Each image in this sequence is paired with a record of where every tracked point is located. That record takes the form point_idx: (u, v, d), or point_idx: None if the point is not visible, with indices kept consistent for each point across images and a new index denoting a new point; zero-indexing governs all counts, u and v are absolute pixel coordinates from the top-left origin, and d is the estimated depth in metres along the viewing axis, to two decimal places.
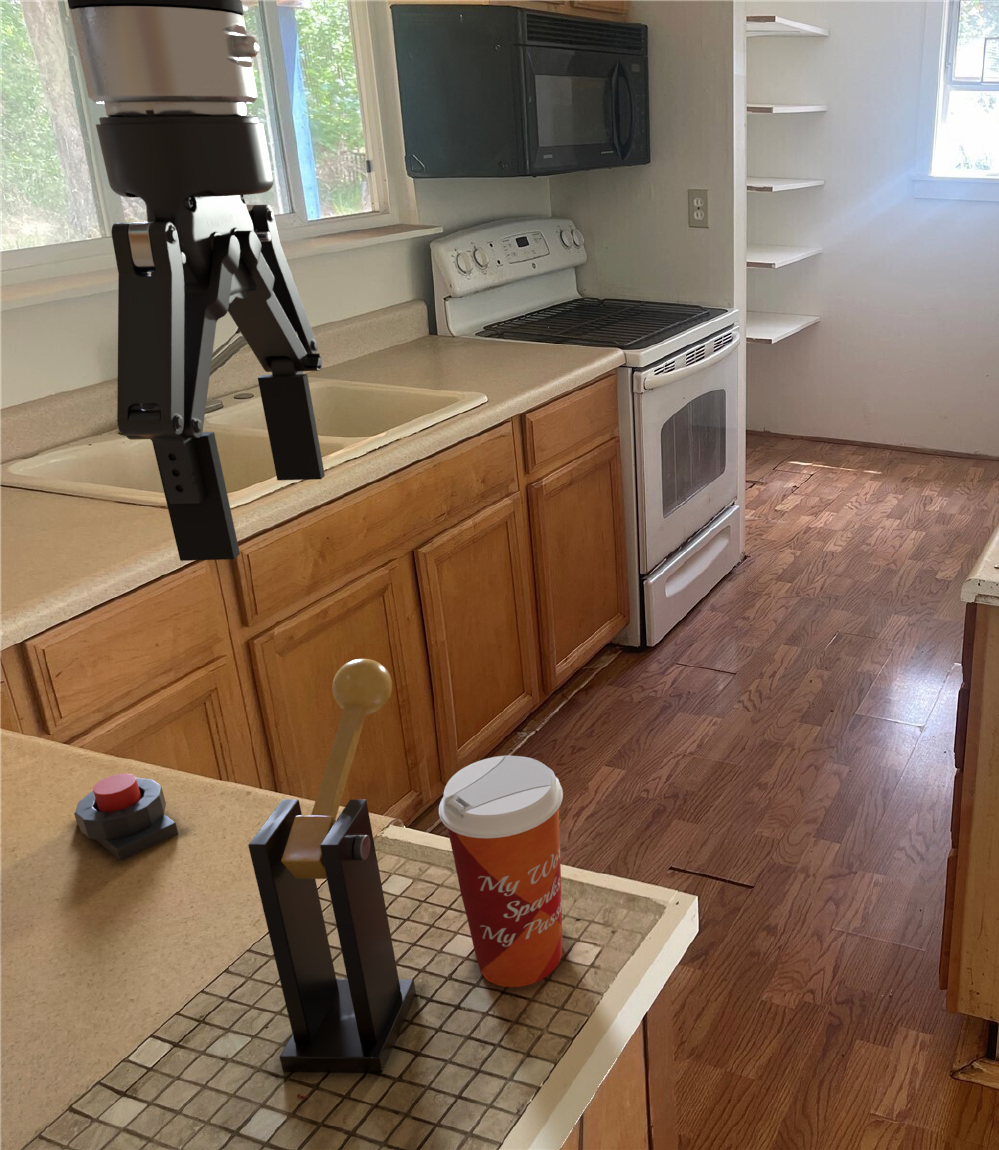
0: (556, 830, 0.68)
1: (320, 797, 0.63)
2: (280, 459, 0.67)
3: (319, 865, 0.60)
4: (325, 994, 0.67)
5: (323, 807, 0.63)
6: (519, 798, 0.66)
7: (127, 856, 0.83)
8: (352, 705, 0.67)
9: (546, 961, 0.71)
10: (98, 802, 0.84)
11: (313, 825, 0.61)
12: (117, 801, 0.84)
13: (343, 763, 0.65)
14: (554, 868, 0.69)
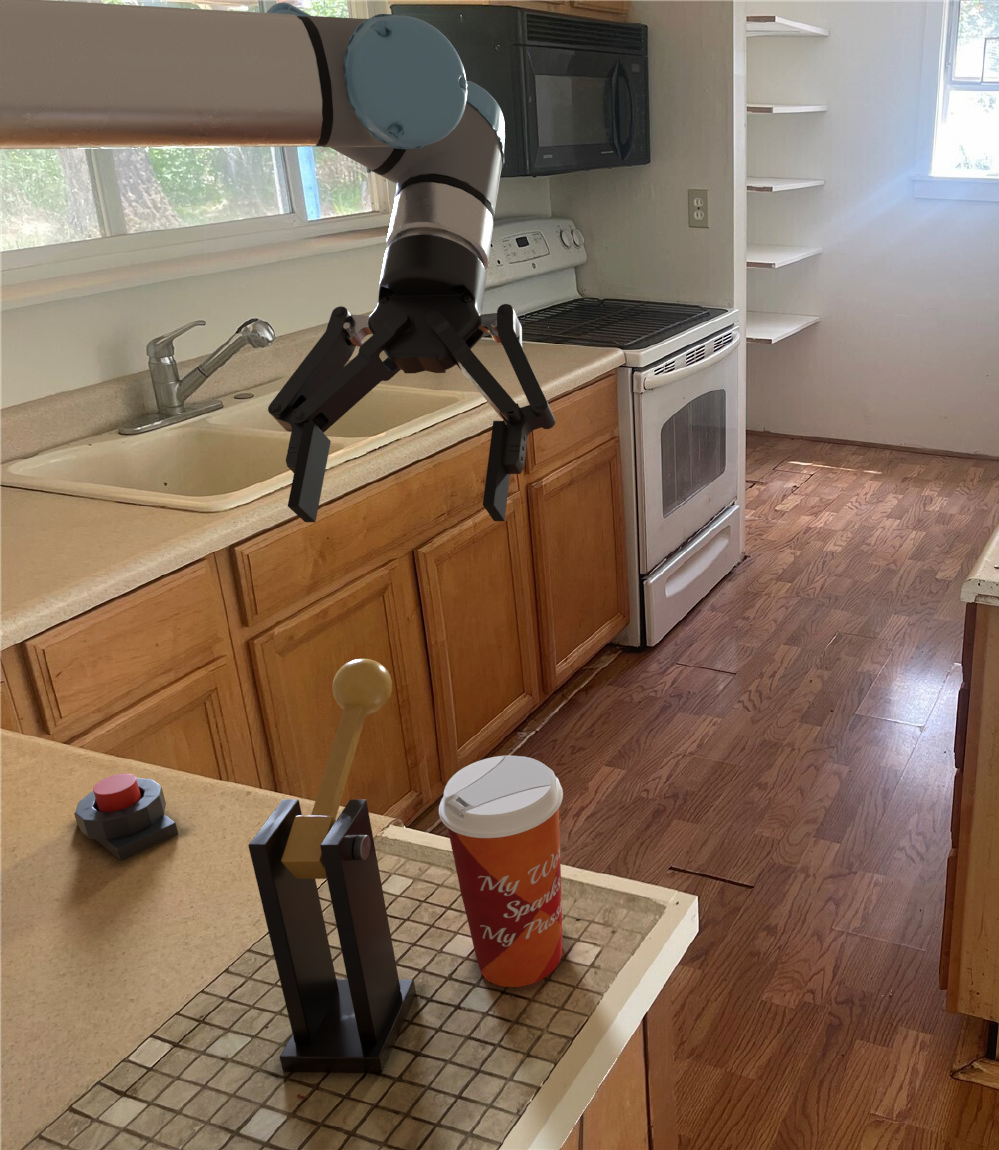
0: (556, 830, 0.68)
1: (320, 797, 0.63)
2: (304, 490, 0.75)
3: (319, 865, 0.60)
4: (325, 994, 0.67)
5: (323, 807, 0.63)
6: (519, 798, 0.66)
7: (127, 856, 0.83)
8: (352, 705, 0.67)
9: (546, 961, 0.71)
10: (98, 802, 0.84)
11: (313, 825, 0.61)
12: (117, 801, 0.84)
13: (343, 763, 0.65)
14: (554, 868, 0.69)
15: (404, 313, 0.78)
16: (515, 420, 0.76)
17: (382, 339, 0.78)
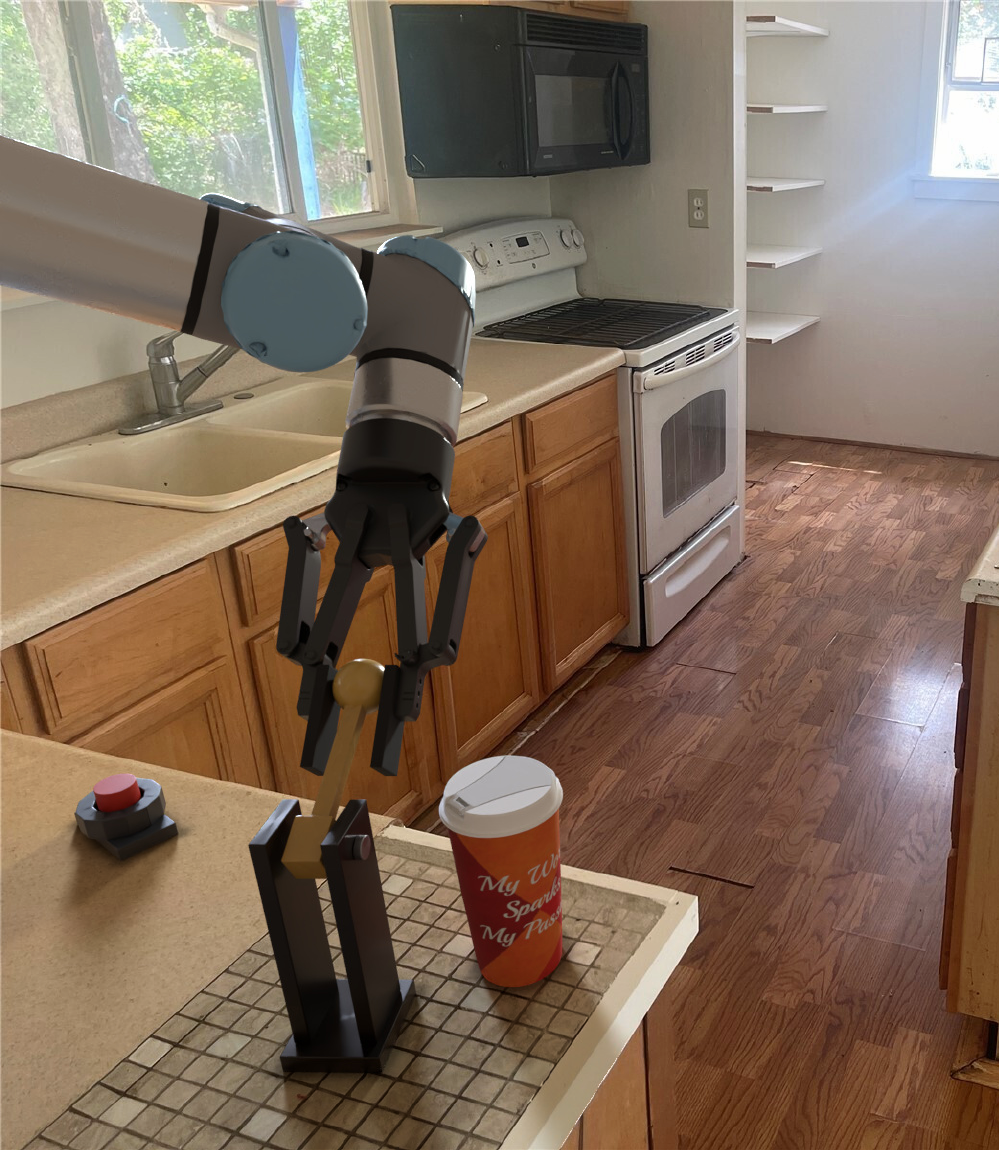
0: (556, 830, 0.68)
1: (320, 797, 0.63)
2: (318, 746, 0.66)
3: (319, 865, 0.60)
4: (325, 994, 0.67)
5: (323, 807, 0.63)
6: (519, 798, 0.66)
7: (127, 856, 0.83)
8: (352, 705, 0.67)
9: (546, 961, 0.71)
10: (98, 802, 0.84)
11: (313, 825, 0.61)
12: (117, 801, 0.84)
13: (343, 763, 0.65)
14: (554, 868, 0.69)
15: (364, 505, 0.71)
16: (405, 664, 0.68)
17: (353, 539, 0.71)
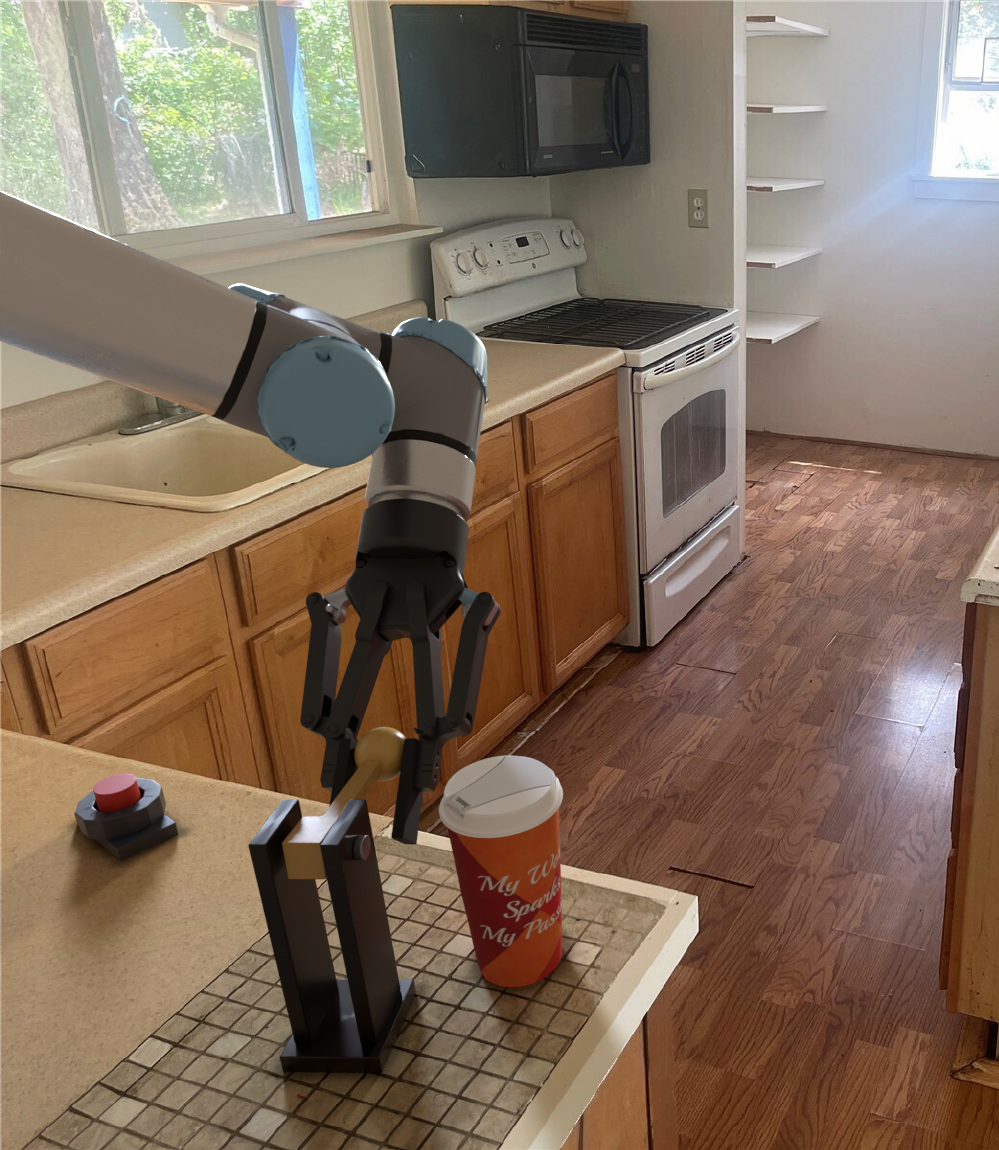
0: (556, 830, 0.68)
1: (328, 812, 0.64)
2: None
3: (318, 851, 0.60)
4: (325, 994, 0.67)
5: None
6: (519, 798, 0.66)
7: (127, 856, 0.83)
8: (371, 760, 0.70)
9: (546, 961, 0.71)
10: (98, 802, 0.84)
11: (319, 822, 0.62)
12: (117, 801, 0.84)
13: (356, 792, 0.66)
14: (554, 868, 0.69)
15: (383, 583, 0.75)
16: (424, 737, 0.72)
17: (373, 616, 0.74)
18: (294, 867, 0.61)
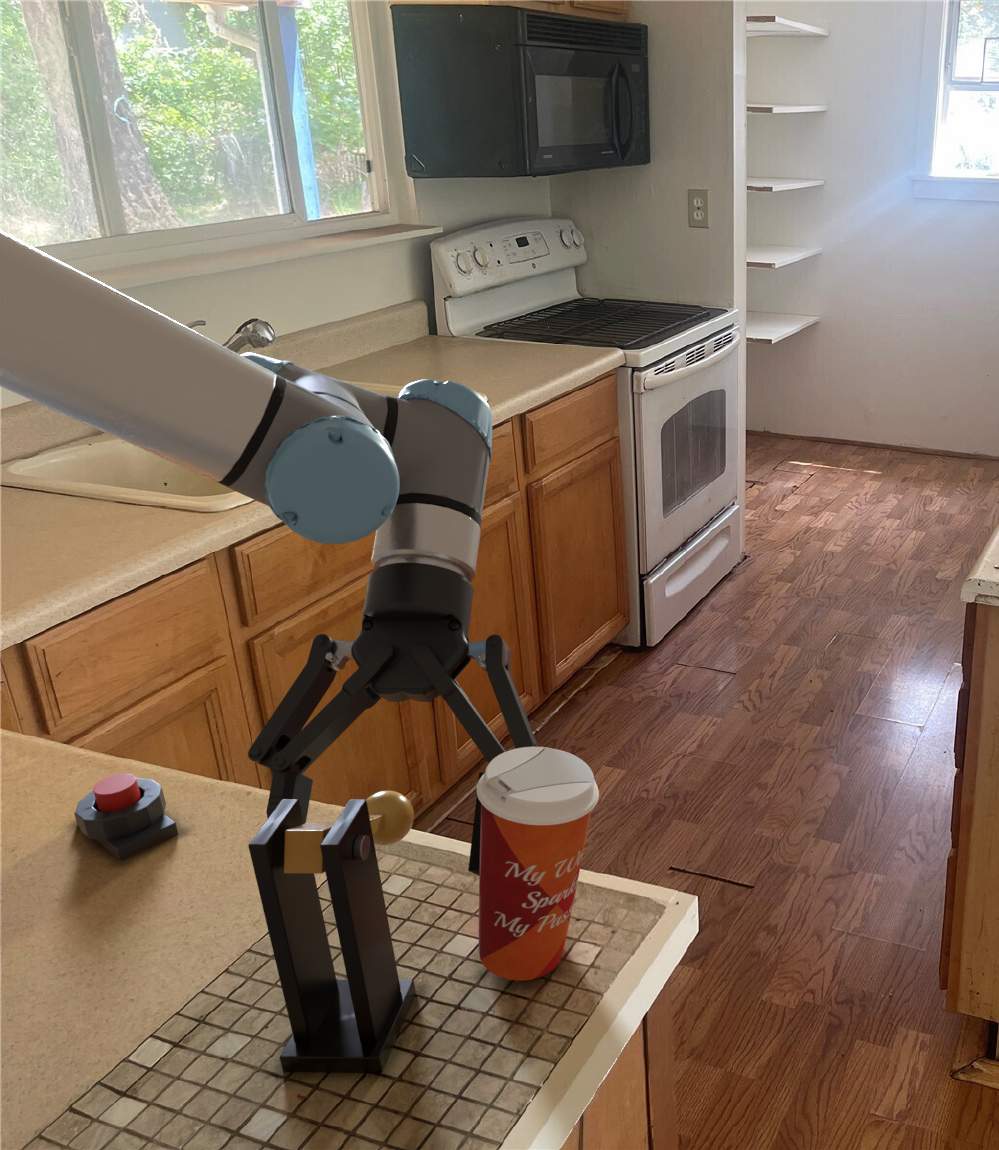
0: (587, 827, 0.69)
1: None
2: None
3: (320, 839, 0.60)
4: (325, 994, 0.67)
5: None
6: (561, 790, 0.67)
7: (127, 856, 0.83)
8: (375, 814, 0.71)
9: (550, 958, 0.71)
10: (98, 802, 0.84)
11: (323, 824, 0.63)
12: (117, 801, 0.84)
13: None
14: (577, 865, 0.69)
15: (389, 646, 0.76)
16: None
17: (367, 675, 0.76)
18: (292, 859, 0.60)
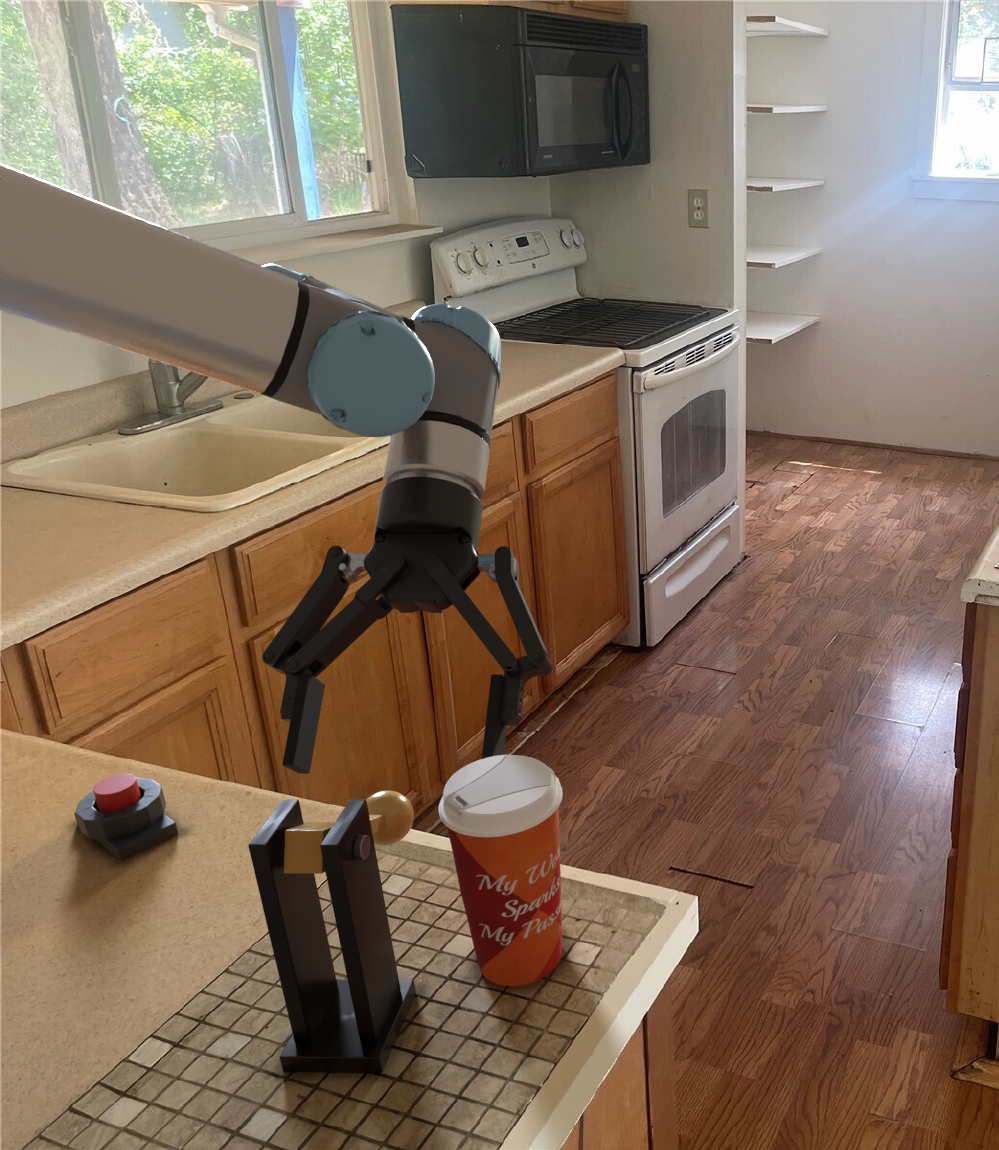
0: (555, 830, 0.68)
1: None
2: (299, 747, 0.74)
3: (320, 839, 0.60)
4: (325, 994, 0.67)
5: None
6: (518, 797, 0.66)
7: (127, 856, 0.83)
8: (375, 814, 0.71)
9: (545, 961, 0.71)
10: (98, 802, 0.84)
11: (323, 824, 0.63)
12: (117, 801, 0.84)
13: None
14: (553, 868, 0.69)
15: (401, 557, 0.78)
16: (513, 673, 0.76)
17: (379, 584, 0.78)
18: (292, 859, 0.60)
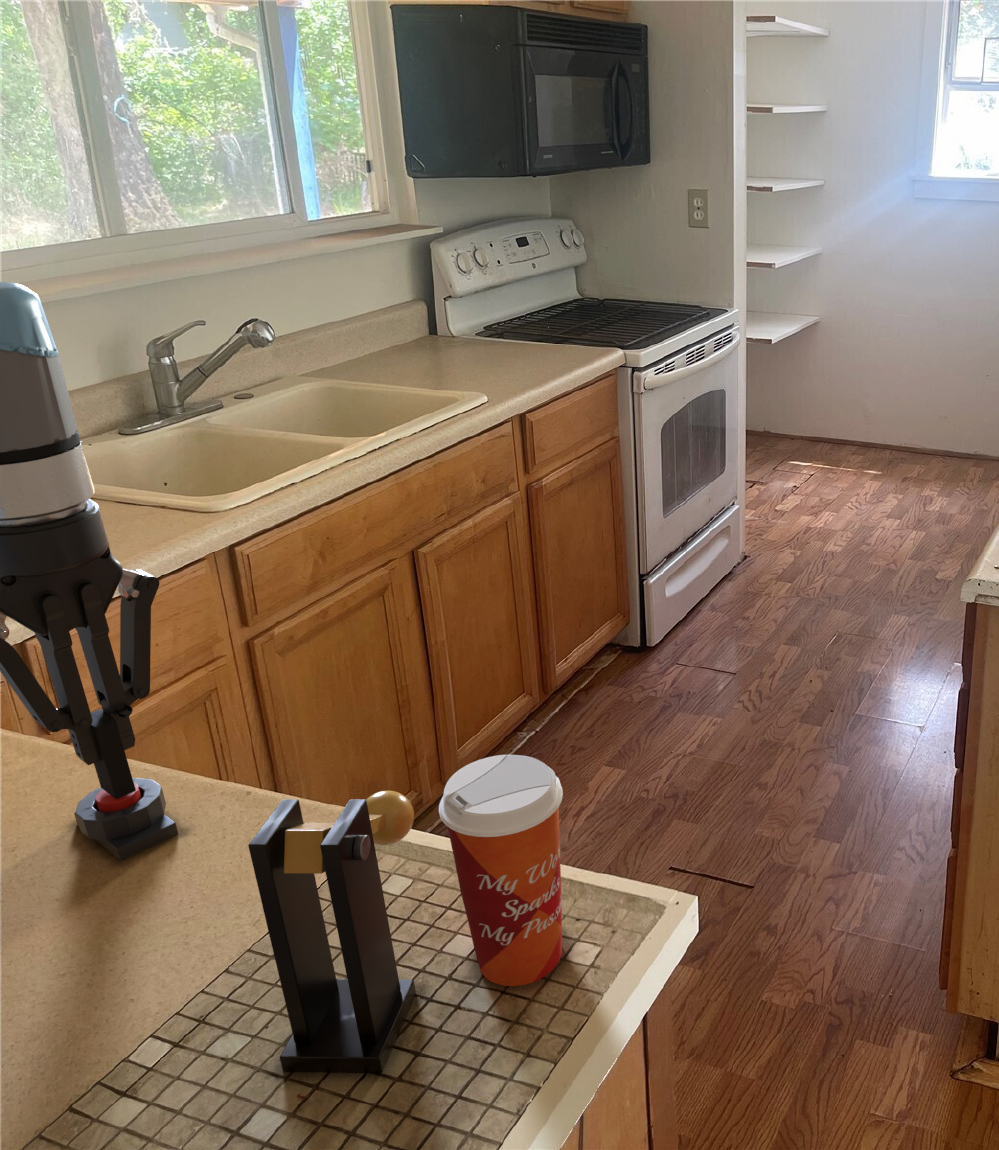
0: (555, 830, 0.68)
1: None
2: None
3: (320, 839, 0.60)
4: (325, 994, 0.67)
5: None
6: (518, 797, 0.66)
7: (127, 856, 0.83)
8: (375, 814, 0.71)
9: (545, 961, 0.71)
10: (101, 811, 0.85)
11: (323, 824, 0.63)
12: (120, 809, 0.85)
13: None
14: (553, 868, 0.69)
15: (56, 597, 0.77)
16: None
17: (62, 626, 0.78)
18: (292, 859, 0.60)
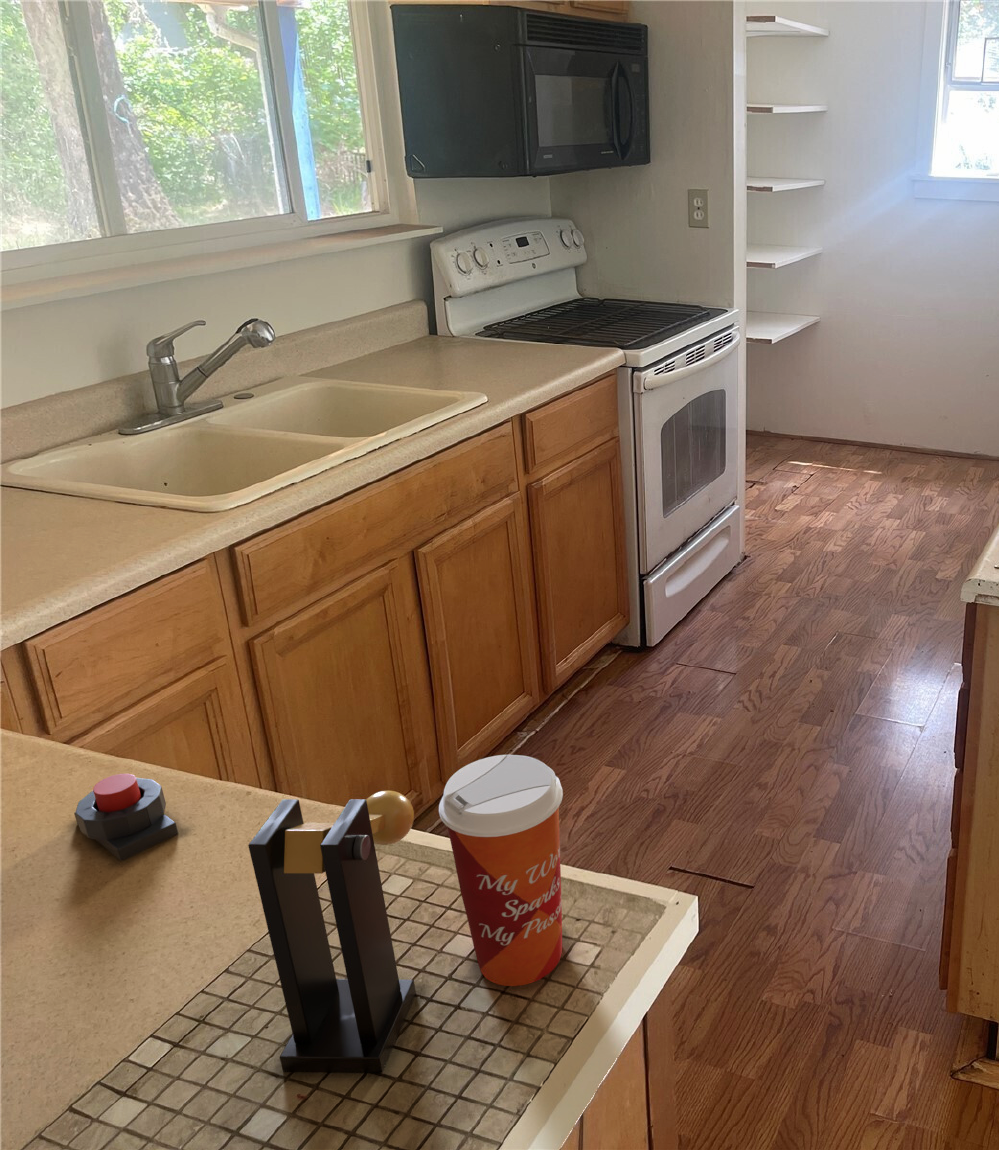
0: (555, 830, 0.68)
1: None
2: None
3: (320, 839, 0.60)
4: (325, 994, 0.67)
5: None
6: (518, 797, 0.66)
7: (127, 856, 0.83)
8: (375, 814, 0.71)
9: (545, 961, 0.71)
10: (98, 802, 0.84)
11: (323, 824, 0.63)
12: (118, 801, 0.84)
13: None
14: (553, 868, 0.69)
15: None
16: None
17: None
18: (292, 859, 0.60)
